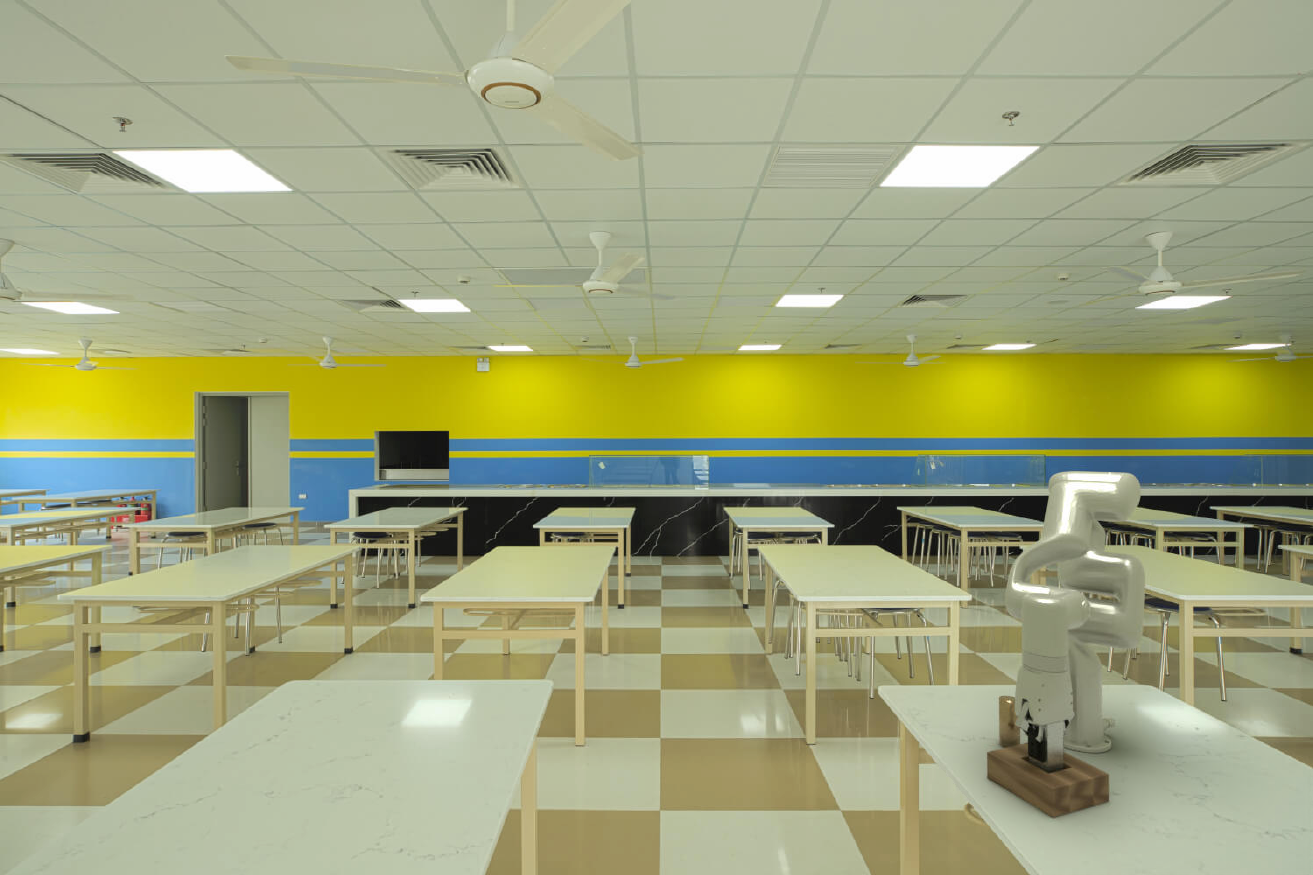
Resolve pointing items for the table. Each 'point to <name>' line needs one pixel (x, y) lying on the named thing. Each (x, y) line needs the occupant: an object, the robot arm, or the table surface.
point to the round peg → (1008, 722)
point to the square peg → (1051, 748)
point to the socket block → (1048, 781)
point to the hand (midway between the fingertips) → (1045, 755)
